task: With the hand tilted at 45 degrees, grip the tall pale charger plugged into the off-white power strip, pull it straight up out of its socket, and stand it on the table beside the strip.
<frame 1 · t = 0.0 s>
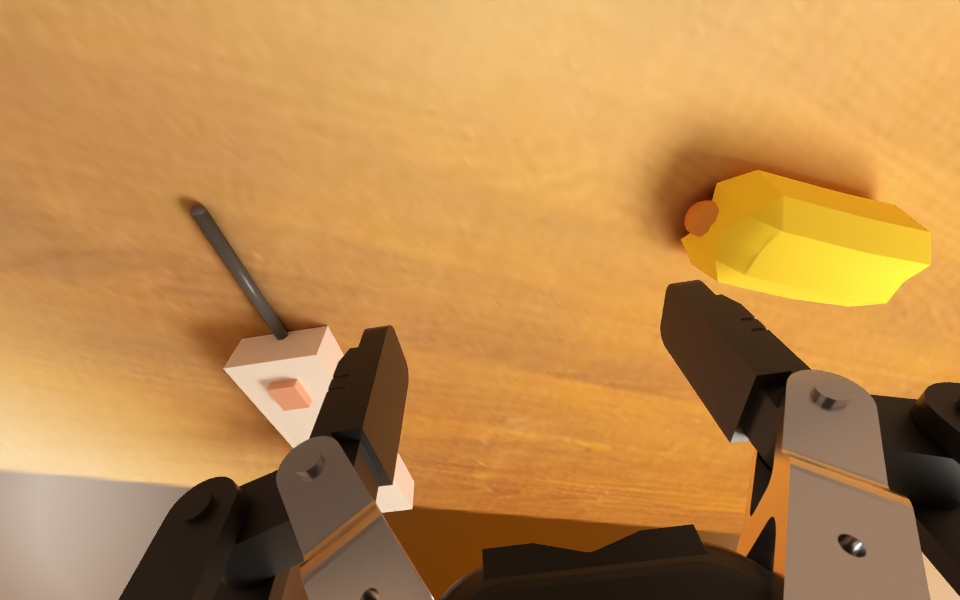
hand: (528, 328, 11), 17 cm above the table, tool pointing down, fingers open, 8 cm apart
yellow banana: (774, 225, 30), on the table
power strip: (346, 425, 43), on the table
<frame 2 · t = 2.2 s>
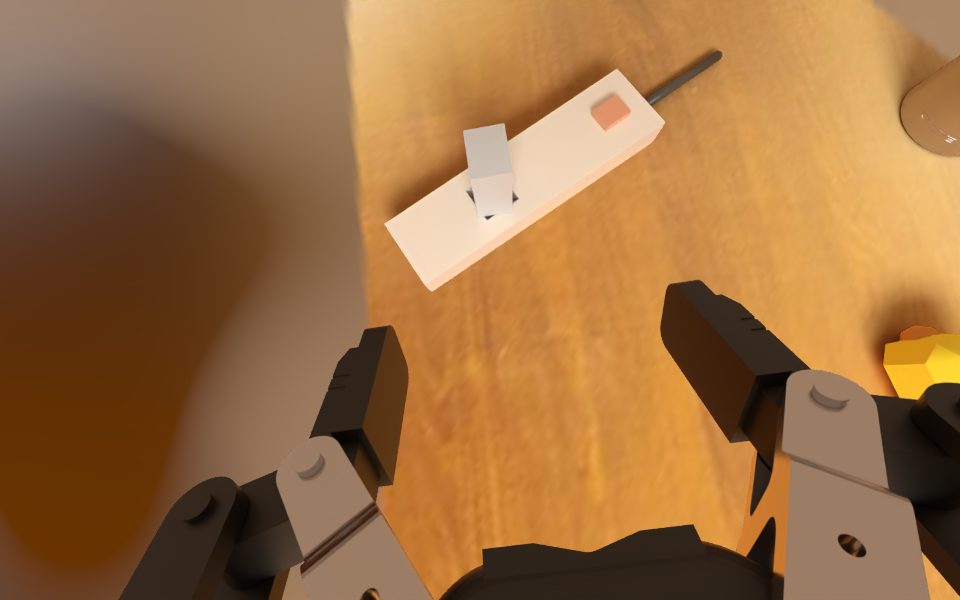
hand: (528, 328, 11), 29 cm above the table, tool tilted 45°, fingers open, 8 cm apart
charger: (492, 200, 40), point 2 cm above the table, touching power strip
yellow banana: (932, 418, 36), on the table
power strip: (522, 188, 42), on the table
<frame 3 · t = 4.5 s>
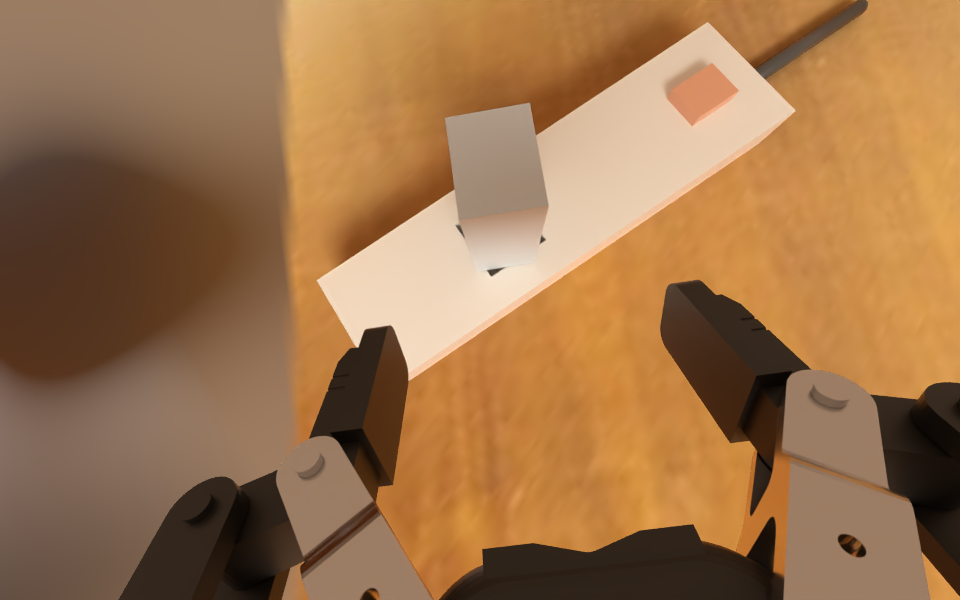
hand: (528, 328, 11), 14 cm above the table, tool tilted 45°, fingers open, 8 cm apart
charger: (500, 240, 24), point 2 cm above the table, touching power strip
power strip: (548, 218, 26), on the table
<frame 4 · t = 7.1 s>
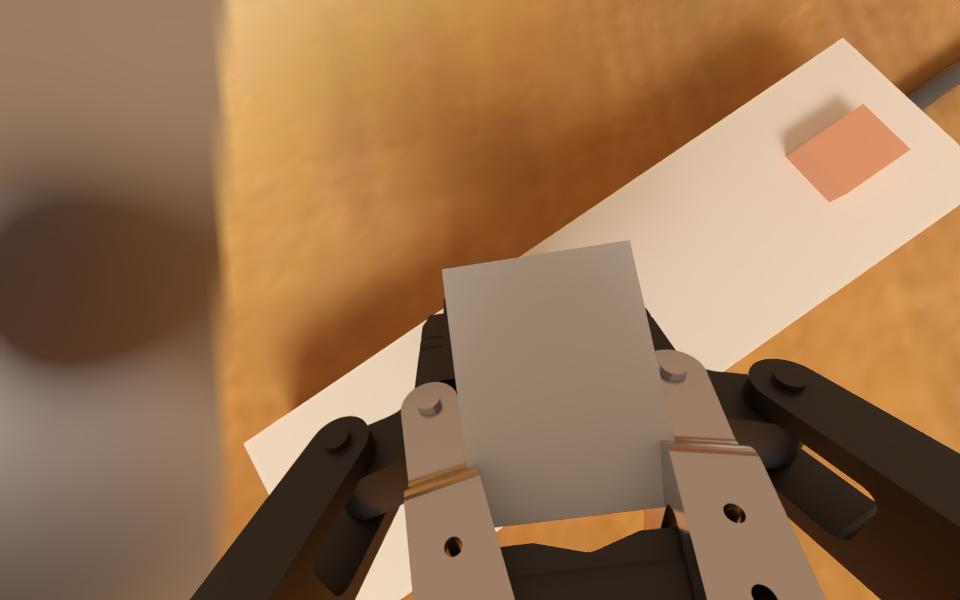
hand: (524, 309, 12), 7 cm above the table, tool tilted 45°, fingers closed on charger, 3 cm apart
charger: (528, 370, 16), point 2 cm above the table, touching gripper, power strip
power strip: (593, 323, 18), on the table
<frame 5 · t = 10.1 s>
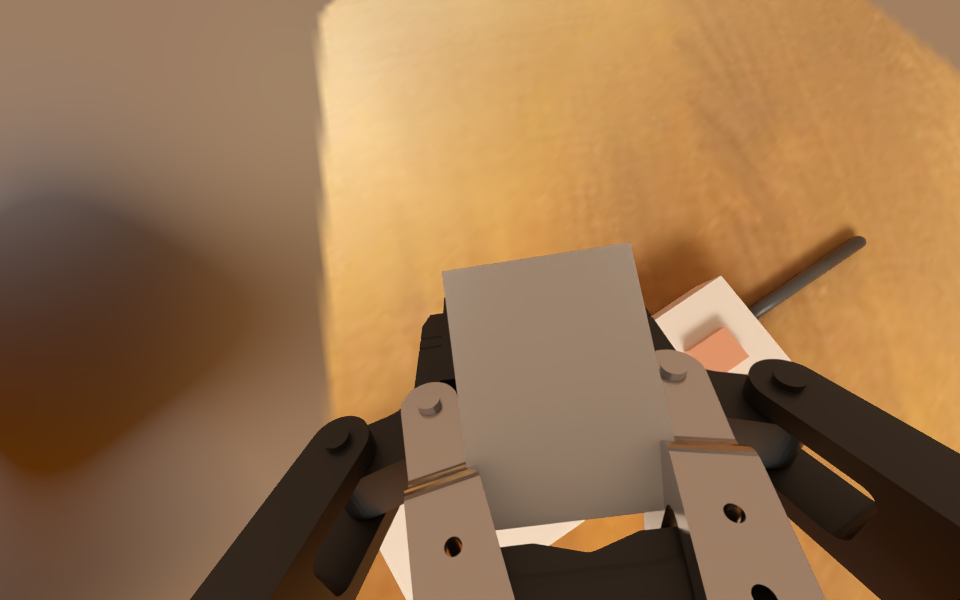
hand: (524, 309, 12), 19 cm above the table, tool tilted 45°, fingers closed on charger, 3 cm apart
charger: (528, 371, 16), point 14 cm above the table, touching gripper
power strip: (571, 435, 29), on the table
when the fingers open (6 cm above the table, at t = 13.4 s): charger drops 1 cm, on the table.
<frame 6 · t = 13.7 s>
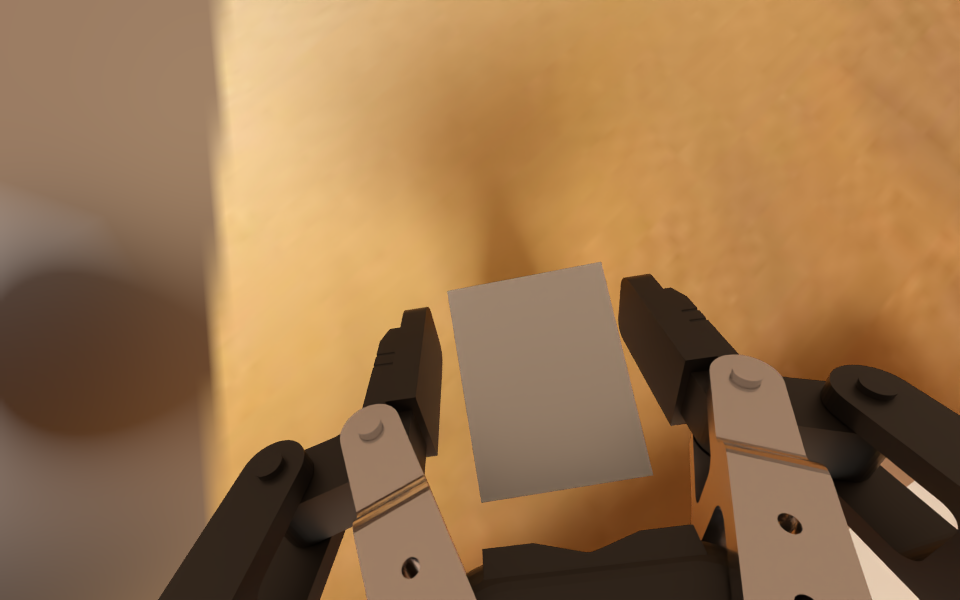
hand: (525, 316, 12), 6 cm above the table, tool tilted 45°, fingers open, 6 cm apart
charger: (526, 370, 17), on the table
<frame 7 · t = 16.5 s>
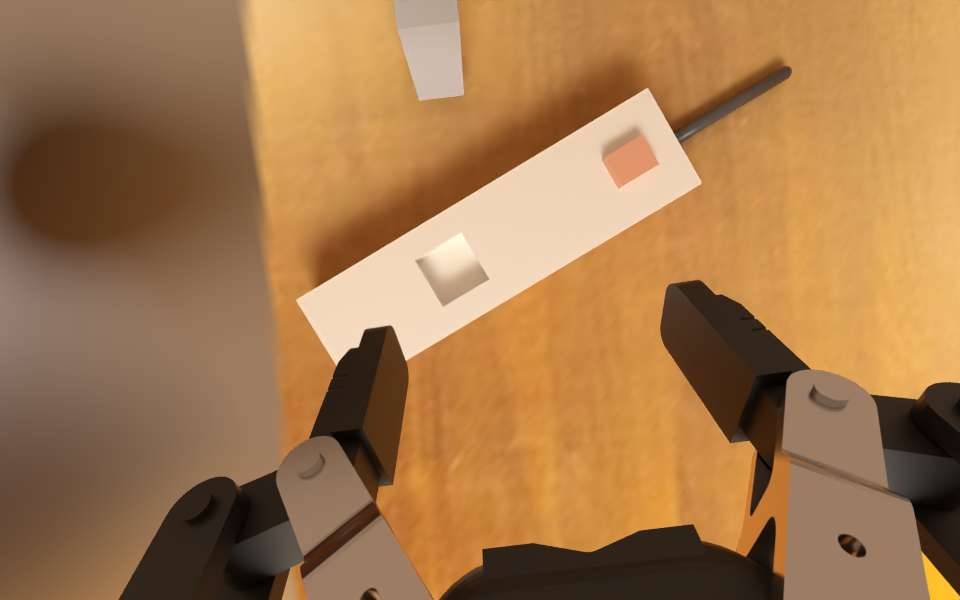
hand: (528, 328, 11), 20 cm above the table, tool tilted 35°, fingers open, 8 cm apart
charger: (440, 79, 30), on the table
yellow banana: (921, 555, 33), on the table
power strip: (496, 246, 31), on the table
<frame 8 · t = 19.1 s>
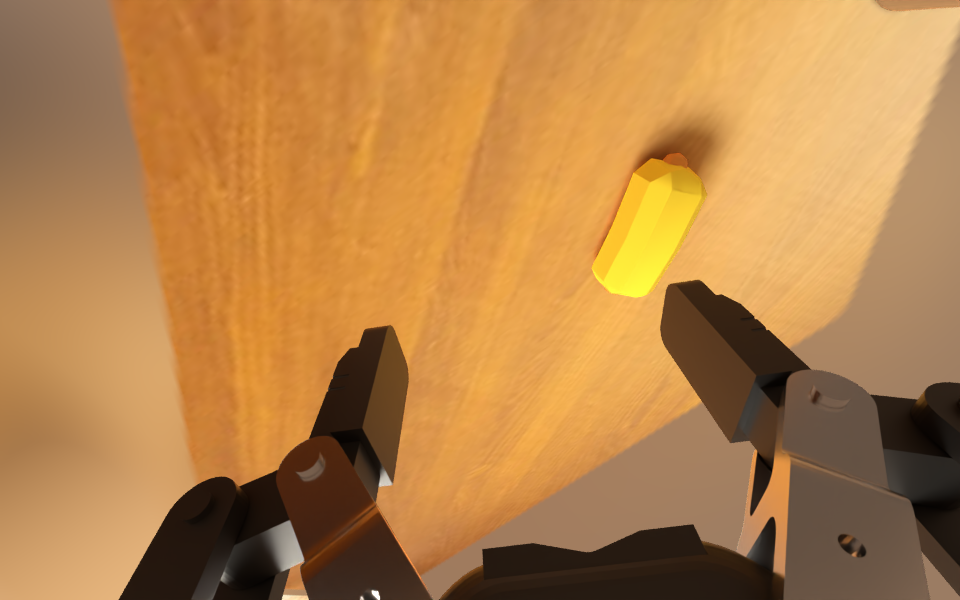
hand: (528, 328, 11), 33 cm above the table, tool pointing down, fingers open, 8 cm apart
yellow banana: (634, 223, 46), on the table
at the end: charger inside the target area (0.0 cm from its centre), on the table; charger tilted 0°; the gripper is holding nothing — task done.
